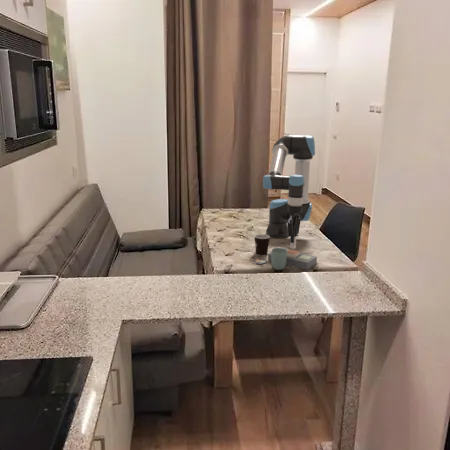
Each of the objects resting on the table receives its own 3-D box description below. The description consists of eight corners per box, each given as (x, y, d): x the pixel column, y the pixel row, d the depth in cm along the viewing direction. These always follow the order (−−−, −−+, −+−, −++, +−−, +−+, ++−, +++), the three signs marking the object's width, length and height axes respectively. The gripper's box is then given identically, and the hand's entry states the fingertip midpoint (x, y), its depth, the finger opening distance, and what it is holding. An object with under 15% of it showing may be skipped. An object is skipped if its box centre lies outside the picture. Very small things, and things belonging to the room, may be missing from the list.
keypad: (278, 255, 253) (278, 248, 252) (316, 263, 241) (316, 256, 240) (268, 260, 244) (268, 253, 243) (306, 269, 231) (307, 262, 230)
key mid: (289, 256, 246) (290, 249, 245) (299, 258, 242) (299, 251, 241) (284, 259, 241) (285, 252, 240) (294, 261, 238) (295, 254, 237)
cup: (275, 264, 238) (276, 247, 235) (288, 268, 234) (289, 249, 231) (268, 269, 232) (268, 250, 229) (281, 272, 228) (282, 253, 225)
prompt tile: (259, 259, 245) (259, 258, 245) (267, 261, 242) (267, 260, 242) (253, 263, 240) (253, 261, 240) (261, 265, 237) (261, 263, 237)
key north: (302, 261, 242) (302, 254, 241) (312, 263, 239) (312, 256, 238) (297, 264, 237) (297, 257, 236) (307, 266, 234) (308, 259, 233)
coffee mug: (268, 256, 251) (268, 239, 249) (253, 255, 253) (253, 238, 250) (270, 249, 262) (271, 233, 260) (255, 248, 264) (256, 232, 261)
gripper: (294, 201, 241) (292, 243, 247) (282, 205, 231) (280, 249, 237) (307, 203, 237) (304, 246, 243) (296, 207, 227) (293, 252, 233)
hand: (292, 247), depth 240 cm, fingers closed
